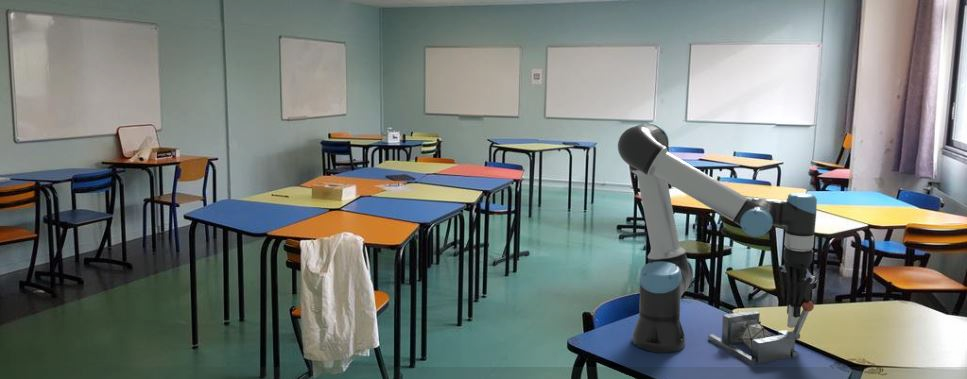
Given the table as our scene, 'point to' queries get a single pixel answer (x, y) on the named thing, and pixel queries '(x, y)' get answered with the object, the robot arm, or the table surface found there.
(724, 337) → the jaw
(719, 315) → the table surface
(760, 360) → the vise body
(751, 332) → the game die
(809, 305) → the lever
